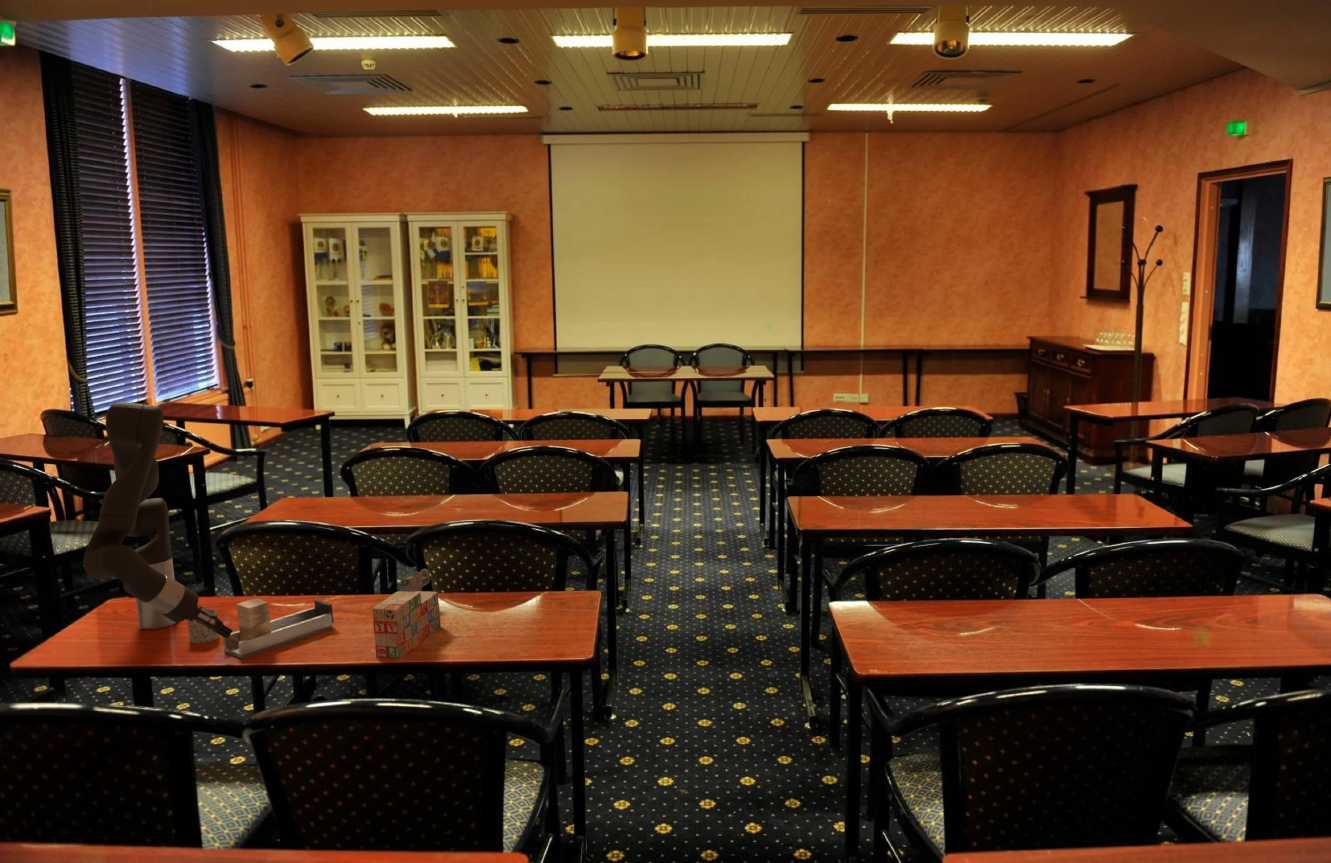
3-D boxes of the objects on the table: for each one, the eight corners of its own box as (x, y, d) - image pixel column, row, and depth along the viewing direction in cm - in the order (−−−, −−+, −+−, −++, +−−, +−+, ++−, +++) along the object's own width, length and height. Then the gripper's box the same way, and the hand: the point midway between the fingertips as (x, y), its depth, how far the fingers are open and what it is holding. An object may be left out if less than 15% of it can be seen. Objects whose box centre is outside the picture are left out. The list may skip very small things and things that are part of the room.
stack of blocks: (418, 625, 248) (415, 579, 246) (441, 626, 247) (437, 580, 245) (375, 657, 227) (371, 607, 225) (400, 659, 226) (396, 608, 224)
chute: (242, 659, 229) (239, 634, 228) (224, 651, 234) (221, 627, 233) (336, 627, 248) (334, 605, 247) (317, 621, 253) (315, 598, 252)
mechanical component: (433, 603, 264) (431, 568, 262) (412, 616, 254) (409, 579, 253) (424, 602, 265) (421, 567, 263) (402, 615, 255) (399, 578, 254)
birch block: (252, 648, 232) (248, 608, 230) (240, 643, 235) (236, 603, 234) (272, 641, 236) (268, 602, 234) (260, 637, 239) (256, 598, 238)
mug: (222, 639, 242) (219, 613, 241) (193, 645, 238) (190, 620, 237) (212, 628, 250) (209, 603, 249) (184, 634, 246) (181, 609, 245)
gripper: (194, 589, 216) (252, 625, 227) (167, 579, 224) (224, 614, 236) (173, 618, 213) (233, 654, 224) (146, 607, 221) (205, 642, 232)
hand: (228, 633), depth 230 cm, fingers closed
